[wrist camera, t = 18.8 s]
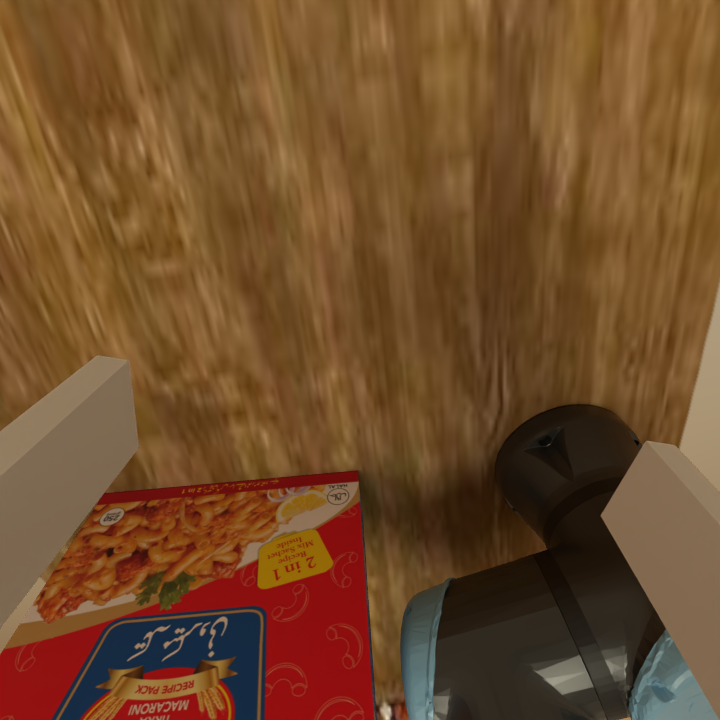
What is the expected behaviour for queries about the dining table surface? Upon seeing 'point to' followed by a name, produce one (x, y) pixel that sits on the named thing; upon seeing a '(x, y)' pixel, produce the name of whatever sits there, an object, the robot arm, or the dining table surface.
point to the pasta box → (203, 609)
